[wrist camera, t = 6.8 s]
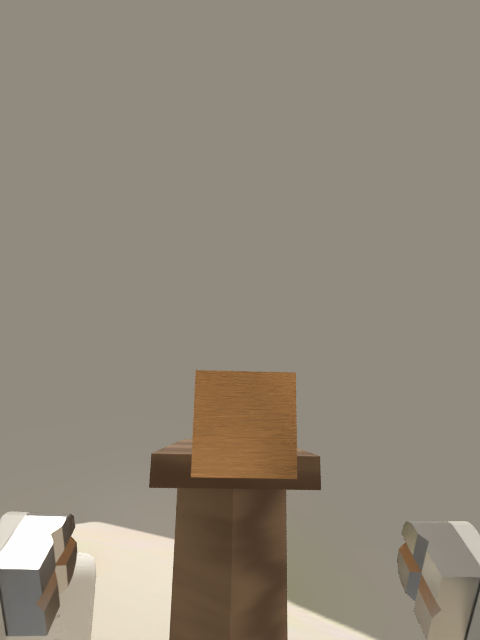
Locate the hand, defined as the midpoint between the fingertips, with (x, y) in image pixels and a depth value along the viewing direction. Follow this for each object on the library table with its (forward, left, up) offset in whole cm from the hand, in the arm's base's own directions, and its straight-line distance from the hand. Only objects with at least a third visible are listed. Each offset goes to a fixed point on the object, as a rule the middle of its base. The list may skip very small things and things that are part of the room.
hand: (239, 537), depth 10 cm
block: (+9, +8, +1) cm, 12 cm away
